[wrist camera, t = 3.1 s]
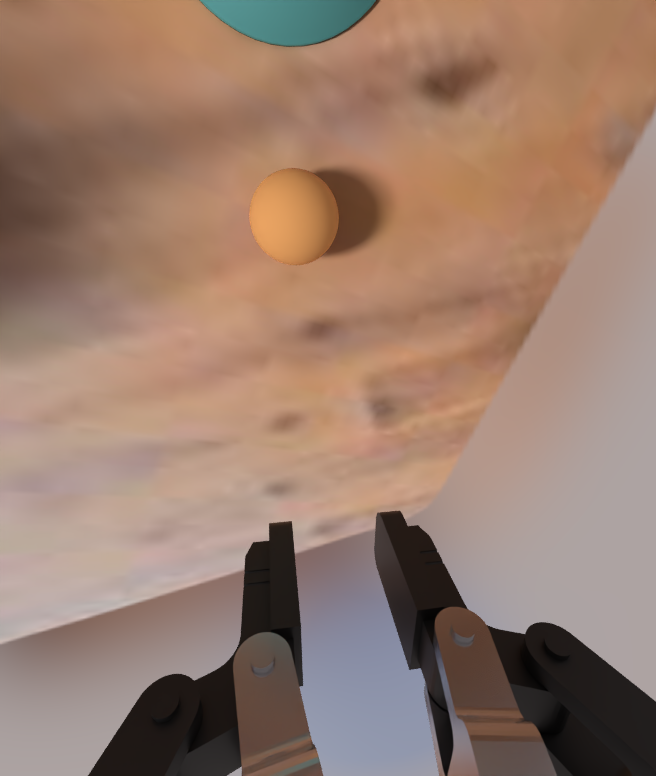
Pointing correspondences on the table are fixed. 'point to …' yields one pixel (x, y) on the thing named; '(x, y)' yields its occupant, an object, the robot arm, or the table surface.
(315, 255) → the ball
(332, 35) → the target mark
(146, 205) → the table surface
